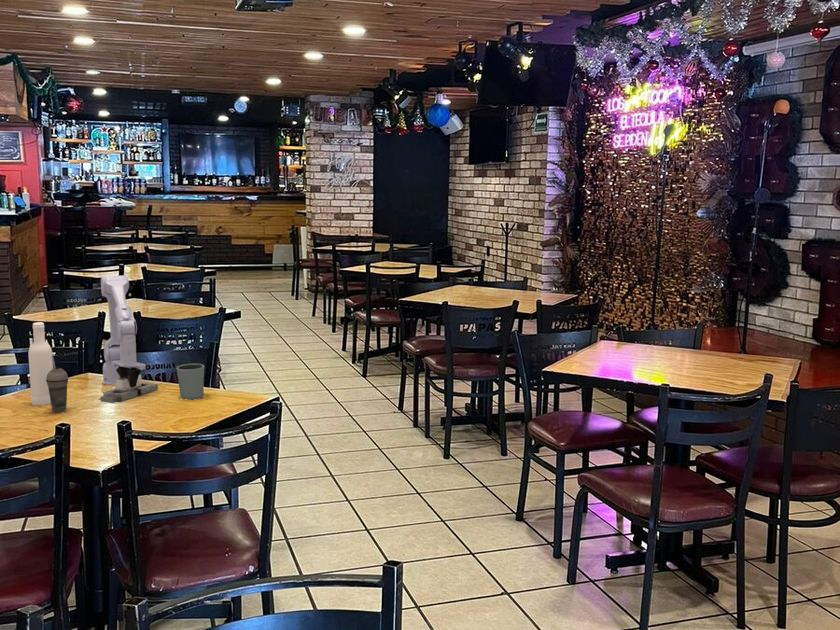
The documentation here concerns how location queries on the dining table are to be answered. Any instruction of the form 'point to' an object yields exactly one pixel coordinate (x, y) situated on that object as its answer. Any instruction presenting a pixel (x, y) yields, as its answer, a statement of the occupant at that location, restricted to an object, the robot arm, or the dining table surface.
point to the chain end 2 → (146, 388)
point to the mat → (135, 397)
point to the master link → (126, 384)
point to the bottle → (39, 366)
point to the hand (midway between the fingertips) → (129, 386)
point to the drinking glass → (191, 381)
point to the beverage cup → (57, 388)
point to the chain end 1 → (117, 396)
